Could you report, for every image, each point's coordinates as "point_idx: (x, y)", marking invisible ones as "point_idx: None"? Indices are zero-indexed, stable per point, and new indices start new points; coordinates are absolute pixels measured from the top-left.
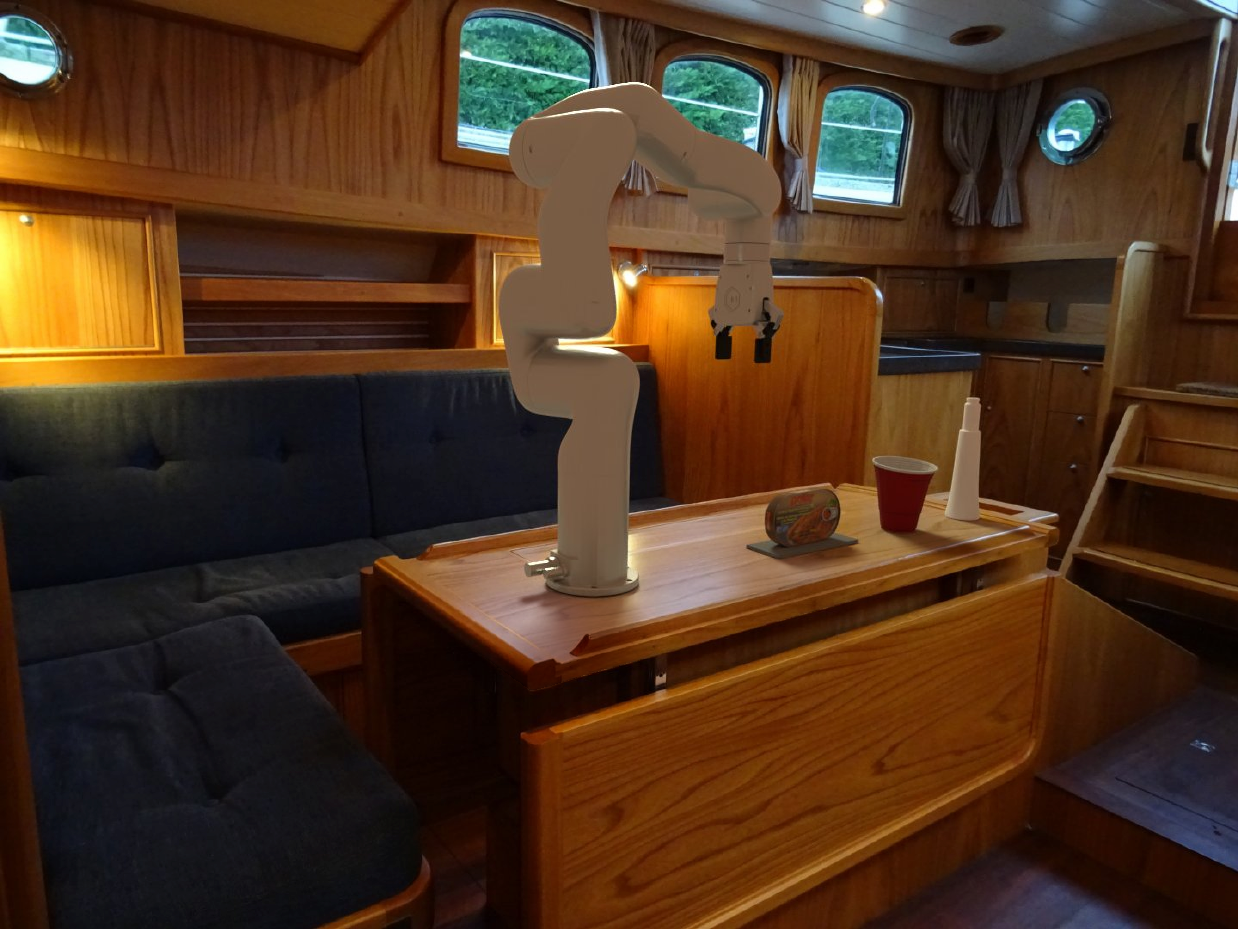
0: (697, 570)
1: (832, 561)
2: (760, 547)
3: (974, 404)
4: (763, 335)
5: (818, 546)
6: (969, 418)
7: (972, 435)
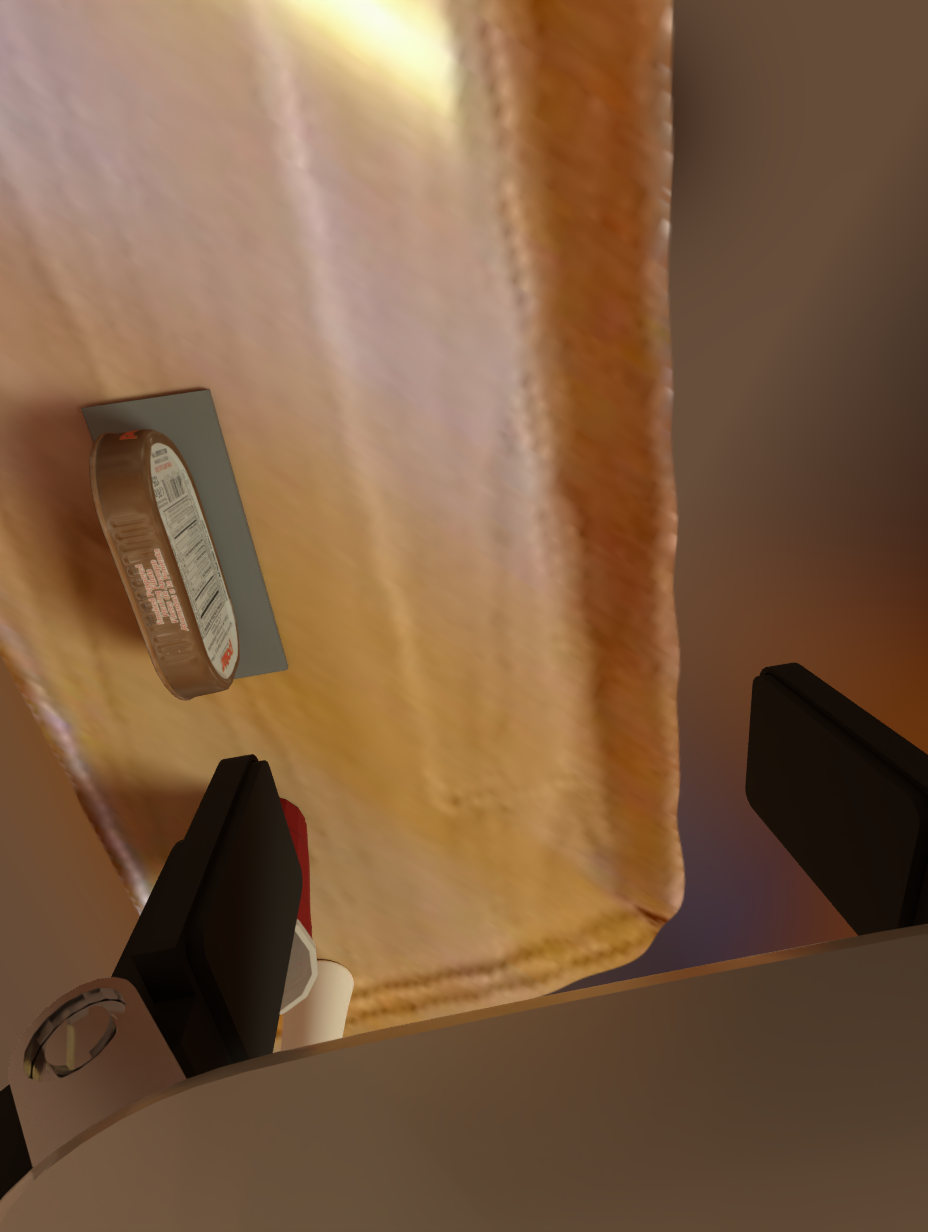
0: (14, 92)
1: (41, 530)
2: (170, 410)
3: None
4: (28, 1039)
5: None
6: None
7: None
